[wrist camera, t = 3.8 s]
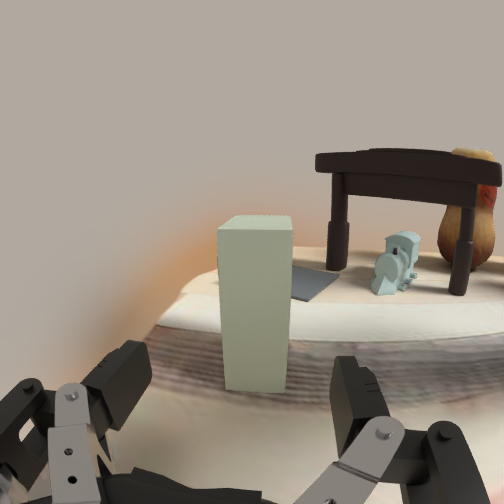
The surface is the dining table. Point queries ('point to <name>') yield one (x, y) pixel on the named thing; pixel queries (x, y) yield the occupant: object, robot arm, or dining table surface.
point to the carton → (255, 301)
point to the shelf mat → (309, 282)
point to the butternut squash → (483, 218)
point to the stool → (405, 188)
